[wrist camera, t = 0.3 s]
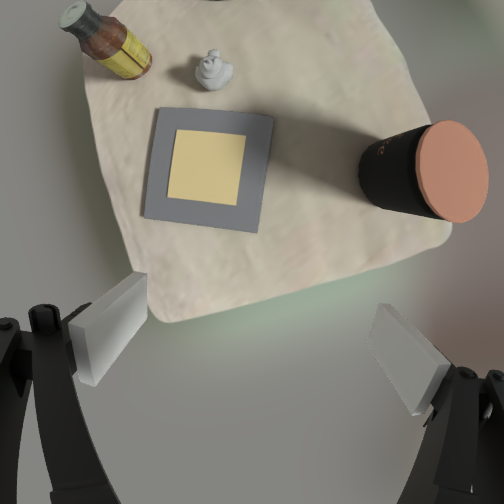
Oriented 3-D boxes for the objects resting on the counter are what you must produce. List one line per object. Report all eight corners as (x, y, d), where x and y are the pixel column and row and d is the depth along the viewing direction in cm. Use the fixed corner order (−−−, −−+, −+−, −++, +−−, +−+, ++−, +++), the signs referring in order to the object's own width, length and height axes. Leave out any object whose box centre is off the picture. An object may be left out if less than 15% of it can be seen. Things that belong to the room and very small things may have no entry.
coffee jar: (409, 142, 38) (482, 125, 20) (415, 207, 40) (490, 220, 22) (351, 142, 38) (411, 114, 20) (358, 211, 40) (423, 227, 23)
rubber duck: (197, 96, 37) (185, 77, 29) (199, 60, 35) (188, 36, 27) (233, 94, 37) (229, 73, 29) (234, 57, 35) (230, 32, 27)
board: (161, 109, 37) (159, 106, 36) (273, 118, 37) (274, 116, 36) (146, 217, 41) (143, 218, 39) (257, 232, 41) (257, 233, 40)
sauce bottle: (138, 45, 34) (84, -16, 15) (161, 60, 35) (109, -5, 16) (112, 72, 35) (44, 25, 16) (133, 89, 36) (64, 39, 17)
